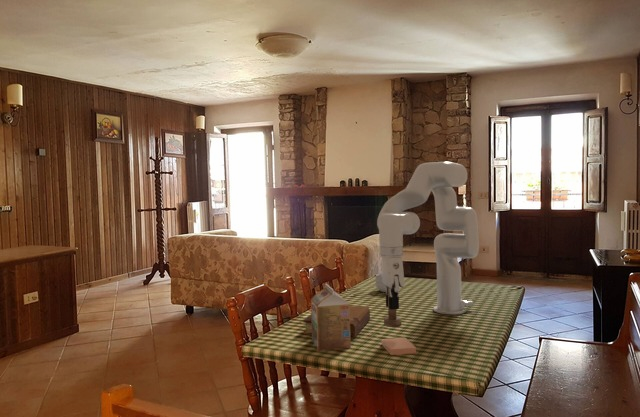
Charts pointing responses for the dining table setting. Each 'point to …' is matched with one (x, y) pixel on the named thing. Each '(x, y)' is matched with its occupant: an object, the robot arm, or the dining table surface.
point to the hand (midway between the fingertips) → (392, 307)
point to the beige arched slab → (357, 320)
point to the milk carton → (330, 320)
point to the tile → (398, 346)
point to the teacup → (380, 283)
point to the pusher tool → (392, 316)
